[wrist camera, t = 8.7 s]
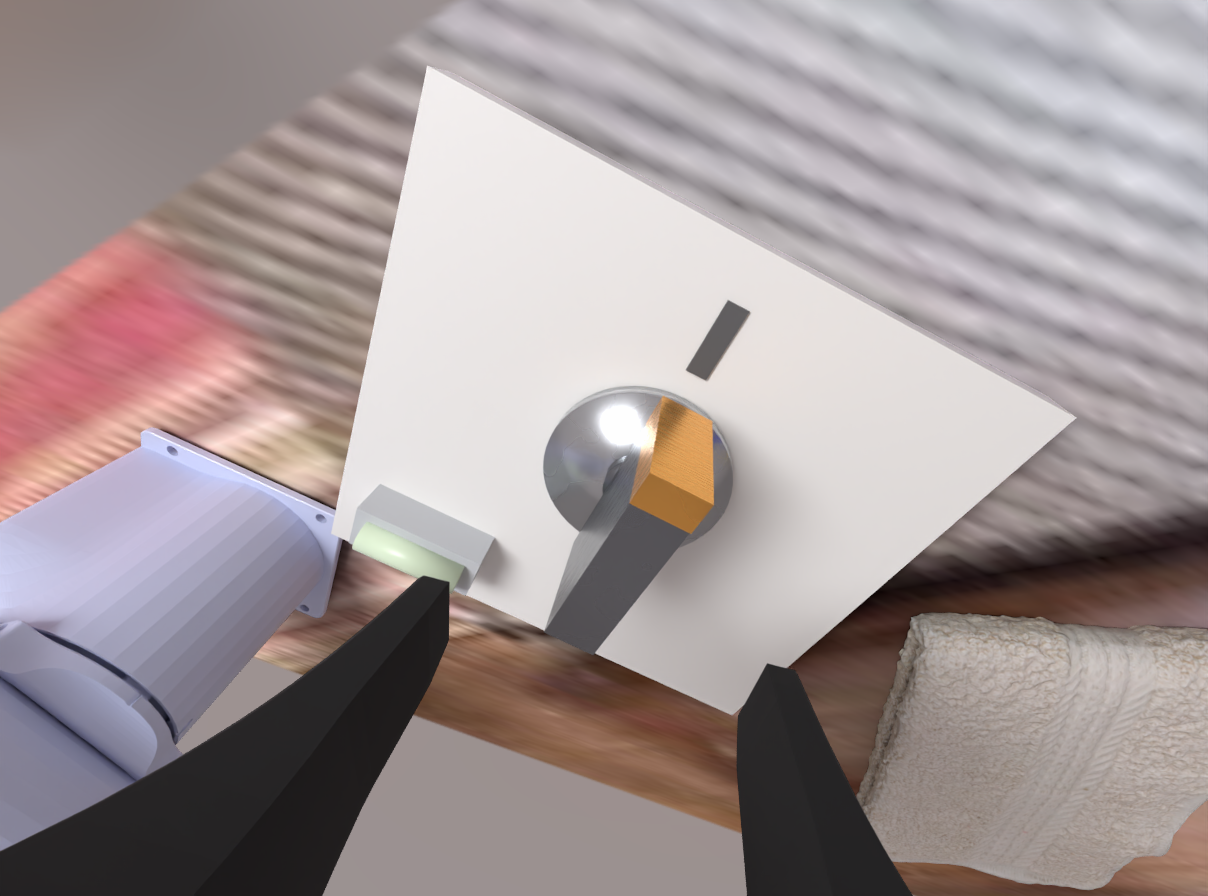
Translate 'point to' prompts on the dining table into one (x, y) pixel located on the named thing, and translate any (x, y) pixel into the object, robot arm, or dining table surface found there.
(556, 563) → the base plate
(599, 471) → the rotary knob
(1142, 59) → the dining table surface
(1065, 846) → the washcloth
